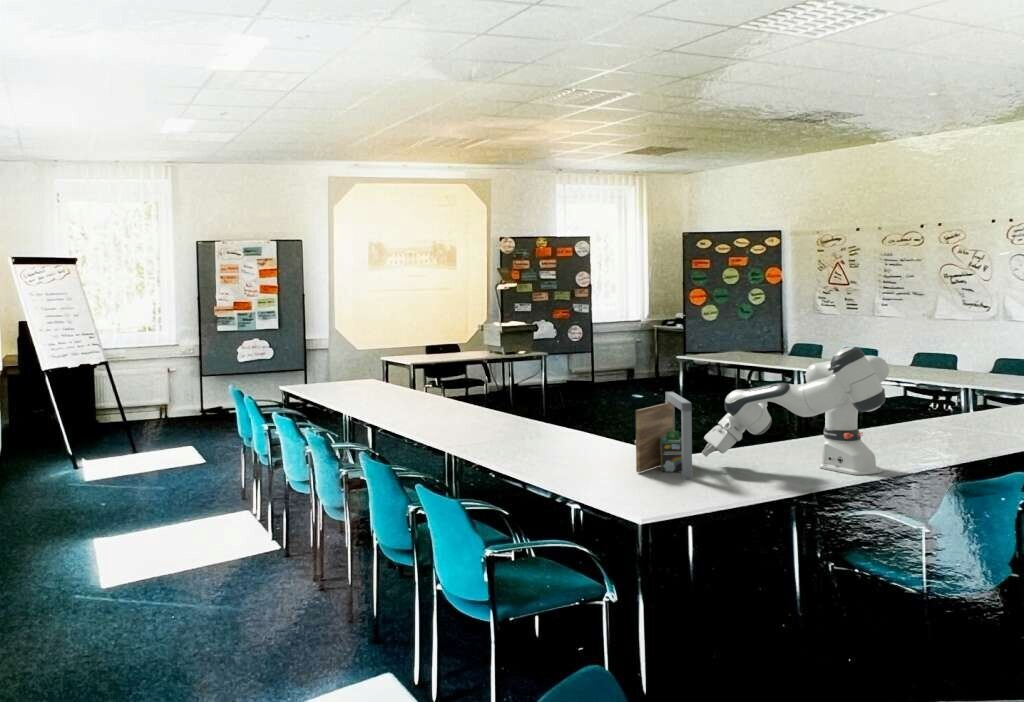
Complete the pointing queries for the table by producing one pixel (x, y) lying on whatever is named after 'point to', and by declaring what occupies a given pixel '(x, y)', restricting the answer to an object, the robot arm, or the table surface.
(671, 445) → the chalk box
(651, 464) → the door
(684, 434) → the door frame
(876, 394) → the robot arm
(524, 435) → the table surface
